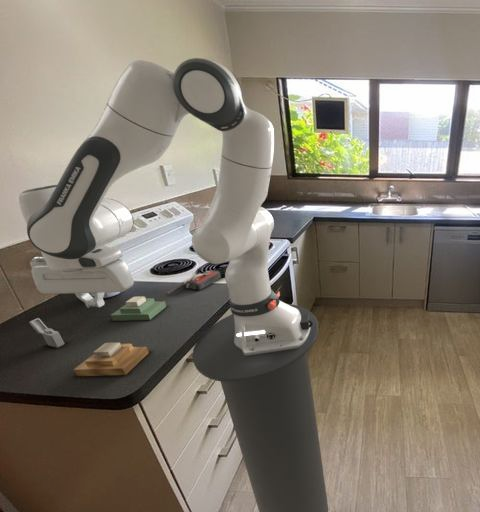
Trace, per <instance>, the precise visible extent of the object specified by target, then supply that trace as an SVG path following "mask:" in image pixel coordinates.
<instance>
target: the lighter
mask: <svg viewBox="0 0 480 512" xmlns="http://www.w3.org/2000/svg"><path fill="white" fill-rule="evenodd" d="M29 324H30V326H31V328H33V329H34V330H35V331H36V332H37V334H38V335H39V334H41V336H42V337H43V339H44V341H45V343H46V344H47V346H49V347H53V348H55V349H56V348H57V349H58V348H60V347H61V346H64V345H65V341H64V340H63V338H62V336H61V334H60V332H59V331H57V330H54V329H53V328H50V327H47V326H46V325H45V323H44V322H43V321H42V319H40V318H39V317H36V318H35V319H33V320H30V321H29Z"/></svg>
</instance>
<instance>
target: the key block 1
mask: <svg viewBox="0 0 480 512" xmlns="http://www.w3.org/2000/svg"><path fill="white" fill-rule="evenodd" d="M145 299H146V302H144V303H143V304H142V305H140V306H139V307H127V305H126V304H124V305H122V306H121V307H119V309H117V310H116V311H114V312H113V313H111V314H110V317H111V319H112V321H113V322H114V321H119V322H121V321H151V320H152V319H153V318H155V316H157V315H158V314H160V313H161V312H162V311H163V310H164V309H166V308H167V304H166V301H164V300H163V301H155V299H154V297H152V298H151V297H150V298H148V297H147V298H146V297H145Z"/></svg>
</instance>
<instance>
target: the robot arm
mask: <svg viewBox="0 0 480 512" xmlns="http://www.w3.org/2000/svg"><path fill="white" fill-rule="evenodd" d="M243 97H244V95H243V89H242V86H241V83H240V81H239V79H238V78H237V77H236V76H235V74H234V73H233V72H232V71H231V70H229V69H228V68H227V67H225V65H223V64H221V63H220V62H218V61H215V60H212V59H209V58H199V57H193V58H189V59H186V60H184V61H182V62H181V63H180V64H179V65H178V66H177V67H176V69H175V71H174V72H173V71H170V70H168V69H167V68H165V67H164V66H161V65H159V64H157V63H155V62H152V61H149V60H143V59H142V60H141V59H139V60H134V61H132V62H130V63H129V64H128V66H127V67H126V68H125V69H124V71H123V72H122V73H121V74H120V76H119V77H118V79H117V81H116V82H115V84H114V86H113V88H112V89H111V92H110V95H109V97H108V98H107V102H106V104H105V107H104V109H103V112H102V113H101V115H100V118H99V119H98V121H97V123H96V124H95V126H94V128H93V129H92V131H91V133H90V134H89V135H88V136H87V137H86V139H84V140H83V142H82V143H81V144H80V146H79V147H78V148H77V149H76V151H75V152H74V154H73V155H72V157H71V159H70V160H69V162H68V164H67V166H66V168H65V169H64V171H63V173H62V175H61V177H60V179H59V180H58V182H57V184H52V185H46V186H42V187H41V186H40V187H35V188H30V189H26V190H24V191H22V192H21V193H20V194H19V195H18V203H19V205H18V206H19V208H20V211H21V214H22V216H23V219H24V222H25V224H26V234H27V237H28V240H29V241H30V243H31V245H32V246H33V247H35V248H36V249H37V250H39V251H40V253H41V256H34V257H33V258H31V260H30V262H29V265H30V267H31V277H32V279H33V282H34V284H35V287H36V289H37V291H38V292H40V293H41V294H43V295H62V294H63V295H65V294H68V295H69V294H75V297H76V298H78V299H79V300H80V301H82V302H83V303H84V304H85V306H86V308H89V309H90V308H102V307H103V306H105V300H104V298H103V297H104V294H105V293H106V292H120V293H123V292H125V291H127V290H129V289H131V288H132V287H133V285H134V283H135V279H134V277H133V274H132V271H131V270H130V267H129V266H128V264H127V262H125V261H124V260H123V259H121V258H123V252H122V251H121V250H120V249H118V248H115V247H111V246H107V245H108V244H110V243H112V242H114V241H116V240H118V239H120V238H123V237H124V236H126V235H127V234H129V233H130V232H131V231H132V230H133V228H134V225H135V223H134V221H135V220H134V217H133V214H132V213H131V211H130V210H129V208H128V207H126V205H124V204H123V203H122V202H120V201H119V200H115V199H112V198H105V197H106V195H107V193H108V191H109V190H110V188H111V187H112V186H113V185H114V183H116V181H118V180H119V179H121V178H122V177H124V176H125V175H127V174H129V173H132V172H134V171H135V170H138V169H139V168H143V167H145V166H148V165H150V164H152V163H155V162H156V161H159V160H160V159H161V158H162V156H163V155H164V154H165V153H166V152H167V150H168V149H169V147H170V146H171V144H172V141H173V140H174V137H175V135H176V133H177V130H178V127H179V126H180V124H181V122H182V121H183V119H184V118H185V116H187V115H188V114H190V115H192V117H194V118H196V119H197V120H199V121H201V122H203V123H205V124H207V125H208V126H211V127H212V128H213V129H216V131H217V130H218V131H219V132H221V134H222V135H221V136H222V145H221V146H222V147H221V156H220V157H221V158H220V166H219V174H218V181H217V187H216V189H215V193H214V197H213V198H212V201H211V203H210V206H209V209H208V210H207V213H206V215H205V217H204V219H203V220H202V222H201V223H200V225H199V226H198V227H197V228H196V229H195V230H194V231H193V233H192V236H191V245H192V247H193V250H194V253H196V255H197V257H199V258H200V259H202V260H203V261H205V262H206V263H209V264H212V265H220V264H224V263H228V265H227V267H226V270H225V273H224V279H225V283H226V287H227V291H228V296H229V299H228V302H229V308H230V311H231V315H232V314H233V315H234V322H235V337H234V343H235V345H236V346H237V347H238V348H240V349H242V351H243V354H244V355H246V356H248V355H255V354H262V353H268V352H275V351H282V350H288V349H295V348H298V347H300V346H301V345H302V344H303V343H304V342H305V341H306V339H307V337H308V335H309V333H310V328H311V326H312V325H313V322H312V321H311V320H309V314H304V315H301V314H300V312H299V310H298V309H296V308H294V307H292V306H290V305H288V304H289V303H285V302H284V301H282V300H280V296H281V292H280V290H279V291H278V292H277V293H275V292H274V290H273V289H272V288H271V280H270V275H269V268H268V267H269V250H270V240H271V236H272V232H273V230H274V227H275V221H274V217H273V215H272V214H271V213H270V211H269V210H267V209H266V208H265V207H263V206H262V205H263V203H264V202H265V201H266V199H267V197H268V192H269V187H270V182H271V181H270V180H271V176H272V169H273V162H274V156H275V155H274V154H275V129H274V126H273V123H272V122H271V120H270V119H268V118H267V117H266V116H265V115H263V114H262V113H260V112H258V111H256V110H253V109H250V108H249V107H248V106H246V104H245V102H244V100H243Z"/></svg>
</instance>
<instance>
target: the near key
mask: <svg viewBox="0 0 480 512" xmlns="http://www.w3.org/2000/svg"><path fill="white" fill-rule="evenodd" d="M120 344H121V342H105V343H102V345H101V346H100V347H98V348H97V349H95V350H94V351H93V354H95V356H96V358H111V357H112V356H113V355H114V354H115V353H117V352H118V351H119V350H120V349H121V348H122V347H121V345H120Z"/></svg>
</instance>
